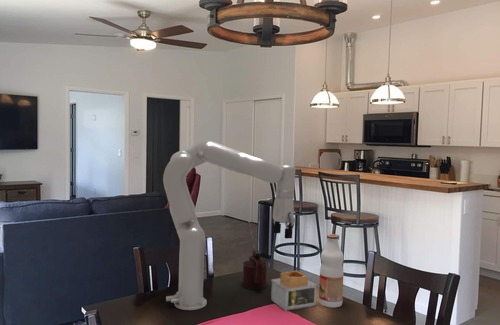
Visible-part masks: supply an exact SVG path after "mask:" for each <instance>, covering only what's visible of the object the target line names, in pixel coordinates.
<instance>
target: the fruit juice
mask: <svg viewBox="0 0 500 325" xmlns="http://www.w3.org/2000/svg"><path fill="white" fill-rule="evenodd" d="M326 239H327V242H326V245H325V247H324V249H323V250H322V251H321V253H320V260H321V264H320V268H319V281H318V282H319V283H318V284H319V289H318V302H319V304H320V305H321V306H323V307H326V308H332V309H333V308H340V307H341V306H342V305H343V297H344V295H343V294H344V266H343V263H344V260H345V258H344V257H345V256H344V252H342V250H341V248H340V243H339V240H340V235H339V234H336V233H328V234H326Z"/></svg>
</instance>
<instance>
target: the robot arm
mask: <svg viewBox="0 0 500 325" xmlns="http://www.w3.org/2000/svg"><path fill="white" fill-rule="evenodd" d="M169 160H170V161H169V162H168V163H167V165H166V166H165V169H164V171H163V172H164V173H163V175H162V176H163V177H162V180H163V182H162V183H163V188H164V190H165V193H166V194H165V195H166V199H167V200H168V204H169V212H170V215H171V218H172V222H173V224H174V227H175V229H176V230H175V231H176V233H177V237H178V238H179V258H178V291H176V293H175V294H174V295H167V296H166V297H165V301H166V302H170V303H172V304H174V305H173V306H174V307H175V308H177V309H179V310H183V311H195V310H201V309H203V308H204V307H206V306H207V302H208V301H207V299H206V298H205V297H204V269H205V268H204V265H205V264H204V262H205V248H206V247H205V246H206V234H205V231H204V229H203V228H202V226H201V225H200V222H199V220H198V217H197V215H196V214H197V213H196V206H195V203H194V202H193V199H192V197H191V193H190V191H189V187H188V184H187V176H188V174H189V173H190V172H191V171H192V169H193V168H196V167H198V166H201V165H202V164H205V163H209V164H211V165H215V166H217V167H220V168H222V169H226V170H229V171H231V172H234V173H238V174H241V175H247V176H250V177H253V178H256V179H259V180H261V181H263V182H266V183H270V184H276V185H275V186H276V187H275V198H274V203H273V208H272V209H273V210H272V219H273V222H272V223H273V232H272V233H273V234H281V231H282V230H281V228H282V224H284V225H285V228H284V238H285V239H287V240H288V239H292V238H293V229H294V226H295V222H296V218H295V217H294V214H295V212H294V208H295V207H294V205H295V204H294V197H295V182H296V181H295V180H296V167H295V166H294V165H292V164H279V165H277V164H275V163H272V162H270V161H267V160H265V159H262V158H259V157H255V156H253V155H251V154H249V153H246V152H244V151H241V150H238V149H235V148H232V147H229V146H227V145H224V144H221V143H219V142H217V141H214V140H202V141H200V142H198V143H196V144H194V145H191V146H188V147H186V148H184V149H182V150H179V151H177V152H175V153H173V154H172V155H171V157H170V159H169Z"/></svg>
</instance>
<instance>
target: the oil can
mask: <svg viewBox="0 0 500 325" xmlns="http://www.w3.org/2000/svg"><path fill="white" fill-rule="evenodd" d="M247 225H248V227H249V233H250V242H251V247H252V248H251V249H252V254H251V255H250V256H249V258H248V259H249V260H246V261H245V260H244V261H243V262H242V265H243V268H242V272H243V273H242V287H244V288H246V289H249V290H262V289H264V288H266V287H267V270H268V269H267V267H268V263H267V262H266V261H264V260H262V257H261V251H256V247H255V241H254V235H253V231H252V230H253V229H252V225H251V224H250V223H248V224H247Z"/></svg>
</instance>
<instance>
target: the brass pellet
mask: <svg viewBox="0 0 500 325" xmlns="http://www.w3.org/2000/svg"><path fill="white" fill-rule="evenodd" d="M297 295H298V290H297V291H289V296H288V301H289V302H291V303H296V302H297Z"/></svg>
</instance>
